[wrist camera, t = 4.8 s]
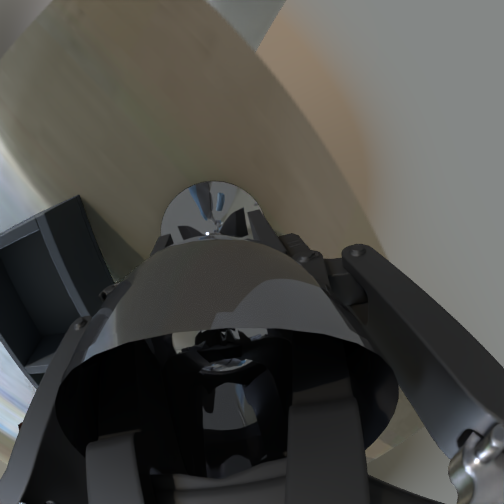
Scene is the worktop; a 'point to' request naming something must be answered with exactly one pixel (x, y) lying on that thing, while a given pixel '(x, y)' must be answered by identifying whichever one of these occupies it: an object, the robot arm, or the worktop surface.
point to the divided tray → (47, 283)
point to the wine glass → (222, 338)
